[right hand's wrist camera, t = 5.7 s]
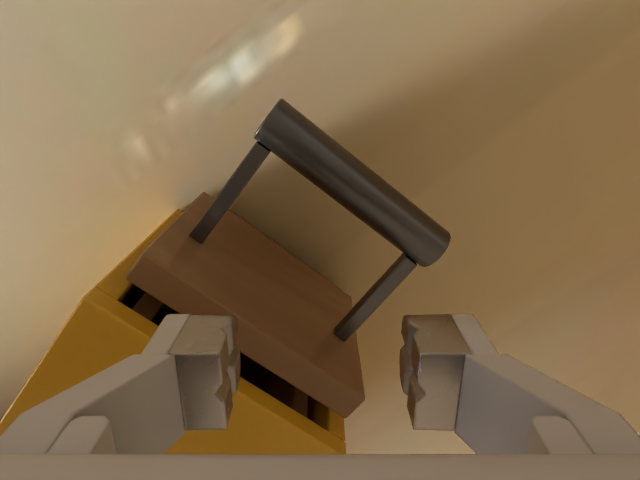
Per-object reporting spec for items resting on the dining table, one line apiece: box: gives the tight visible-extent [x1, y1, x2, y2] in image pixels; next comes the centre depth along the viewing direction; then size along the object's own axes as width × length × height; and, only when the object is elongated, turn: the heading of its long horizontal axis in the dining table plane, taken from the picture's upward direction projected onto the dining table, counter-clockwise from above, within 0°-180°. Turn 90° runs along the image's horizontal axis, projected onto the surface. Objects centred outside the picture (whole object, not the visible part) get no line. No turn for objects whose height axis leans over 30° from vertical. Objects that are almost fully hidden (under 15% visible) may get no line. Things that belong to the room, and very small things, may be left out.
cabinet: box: [0, 209, 346, 454], centre depth 21 cm, size 15×11×10 cm
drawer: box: [126, 99, 451, 418], centre depth 20 cm, size 20×9×8 cm, turn 142°
